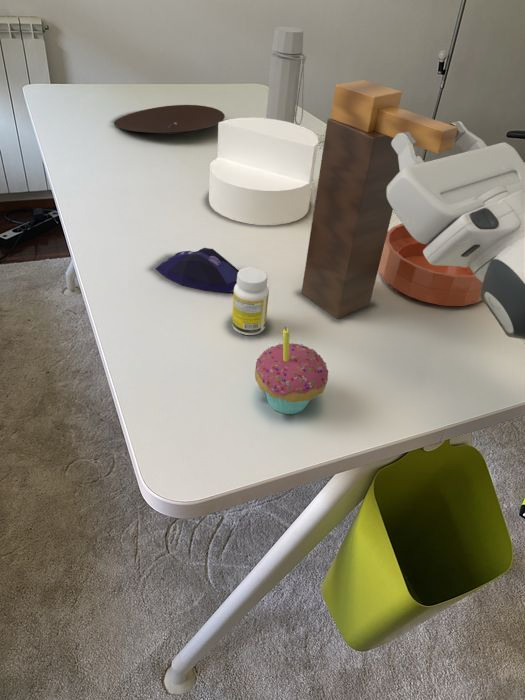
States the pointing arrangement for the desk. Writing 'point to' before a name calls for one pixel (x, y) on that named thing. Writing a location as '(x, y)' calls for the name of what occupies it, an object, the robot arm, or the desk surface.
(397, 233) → the bowl
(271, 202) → the white stepped cylinder
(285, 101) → the water bottle
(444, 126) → the wooden t-shaped block
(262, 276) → the supplement bottle
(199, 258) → the computer mouse
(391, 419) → the desk surface
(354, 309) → the stand
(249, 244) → the desk surface
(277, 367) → the cupcake
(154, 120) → the plate
